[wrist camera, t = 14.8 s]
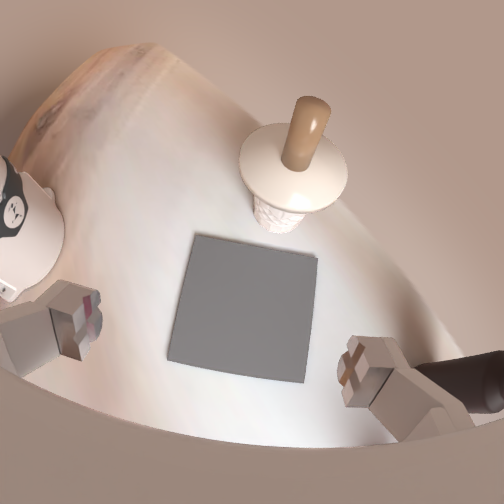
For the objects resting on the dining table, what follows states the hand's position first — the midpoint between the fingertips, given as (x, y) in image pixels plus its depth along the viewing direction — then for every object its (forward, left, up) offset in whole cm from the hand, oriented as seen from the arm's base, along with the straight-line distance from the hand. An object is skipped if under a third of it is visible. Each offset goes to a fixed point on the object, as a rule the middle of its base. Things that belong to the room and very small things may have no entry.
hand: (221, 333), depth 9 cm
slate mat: (+2, +7, -26) cm, 27 cm away
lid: (+4, +21, -16) cm, 26 cm away
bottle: (+28, -1, -26) cm, 38 cm away
